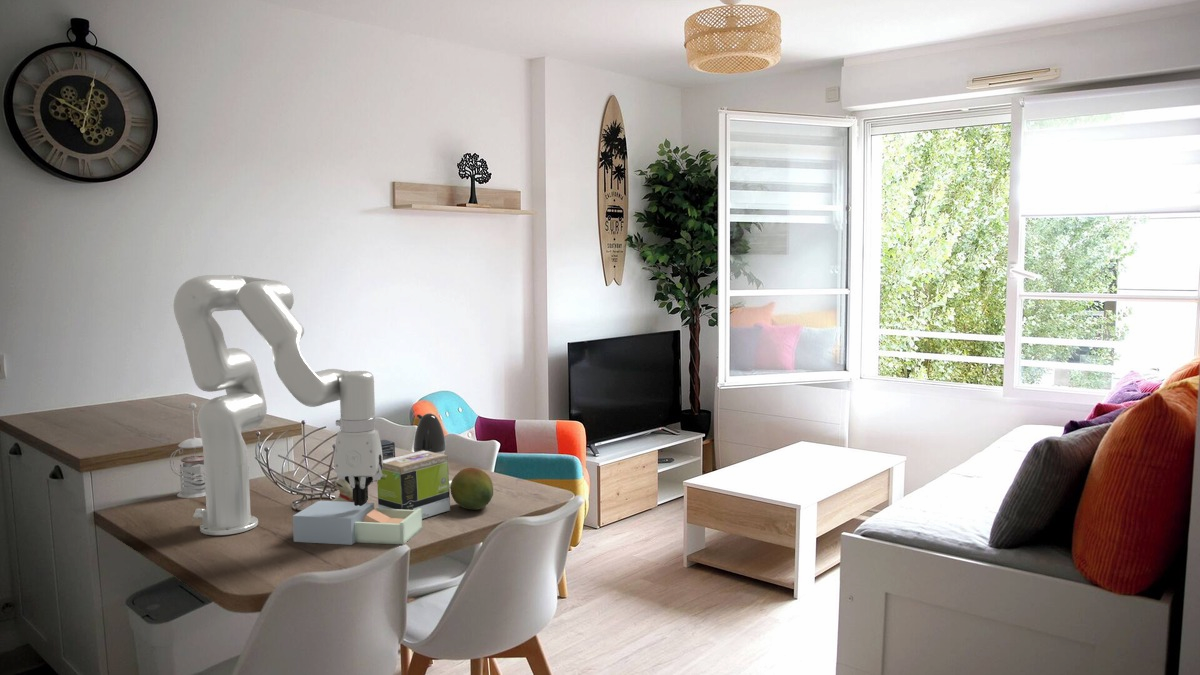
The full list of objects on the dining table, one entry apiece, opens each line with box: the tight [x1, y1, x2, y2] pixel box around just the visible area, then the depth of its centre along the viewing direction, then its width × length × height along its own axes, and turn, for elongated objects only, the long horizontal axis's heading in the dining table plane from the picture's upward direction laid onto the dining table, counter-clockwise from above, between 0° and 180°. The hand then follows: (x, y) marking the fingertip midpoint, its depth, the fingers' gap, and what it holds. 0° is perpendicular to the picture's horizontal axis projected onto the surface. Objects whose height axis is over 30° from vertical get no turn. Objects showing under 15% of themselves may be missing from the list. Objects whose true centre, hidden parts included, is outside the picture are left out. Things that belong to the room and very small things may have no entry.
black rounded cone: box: [412, 413, 447, 454], centre depth 259 cm, size 10×10×15 cm
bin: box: [355, 507, 423, 545], centre depth 187 cm, size 12×11×5 cm
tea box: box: [376, 450, 451, 520], centre depth 202 cm, size 15×10×15 cm, turn 141°
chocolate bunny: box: [331, 478, 354, 502], centre depth 203 cm, size 6×8×10 cm
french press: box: [169, 402, 206, 499], centre depth 222 cm, size 10×12×25 cm
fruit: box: [450, 467, 494, 510], centre depth 208 cm, size 12×12×10 cm
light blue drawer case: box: [292, 500, 375, 546], centre depth 188 cm, size 14×12×6 cm
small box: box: [359, 439, 396, 482], centre depth 238 cm, size 11×6×10 cm, turn 133°
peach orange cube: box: [385, 518, 404, 524], centre depth 185 cm, size 4×4×4 cm
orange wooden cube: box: [363, 508, 390, 523], centre depth 186 cm, size 4×4×4 cm
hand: (360, 503), depth 187 cm, fingers closed
